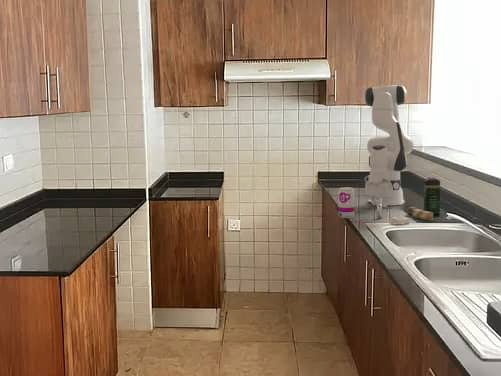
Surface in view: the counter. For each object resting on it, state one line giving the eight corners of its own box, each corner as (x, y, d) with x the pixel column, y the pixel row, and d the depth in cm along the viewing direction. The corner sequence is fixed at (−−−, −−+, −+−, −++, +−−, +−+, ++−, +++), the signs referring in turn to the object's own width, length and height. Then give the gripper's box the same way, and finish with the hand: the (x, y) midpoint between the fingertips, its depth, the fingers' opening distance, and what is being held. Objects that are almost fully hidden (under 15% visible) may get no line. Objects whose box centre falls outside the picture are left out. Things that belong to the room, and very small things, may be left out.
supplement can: (351, 218, 292) (350, 189, 290) (336, 217, 296) (335, 188, 294) (357, 216, 299) (356, 187, 297) (342, 215, 303) (341, 186, 301)
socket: (390, 222, 277) (390, 217, 277) (401, 221, 280) (401, 216, 279) (397, 224, 272) (397, 219, 271) (409, 223, 274) (409, 218, 273)
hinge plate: (403, 215, 296) (403, 214, 296) (413, 214, 298) (413, 213, 298) (425, 220, 279) (425, 220, 279) (436, 219, 281) (436, 218, 281)
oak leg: (406, 214, 296) (406, 207, 295) (413, 213, 297) (413, 206, 297) (426, 219, 279) (426, 212, 279) (434, 218, 281) (434, 211, 280)
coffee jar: (441, 215, 293) (441, 178, 291) (425, 215, 294) (425, 178, 292) (438, 211, 302) (438, 176, 300) (423, 211, 304) (422, 176, 301)
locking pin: (375, 218, 291) (375, 204, 290) (380, 217, 292) (380, 204, 291) (378, 219, 289) (378, 205, 288) (383, 218, 289) (383, 204, 289)
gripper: (396, 179, 279) (396, 208, 280) (373, 176, 298) (373, 203, 299) (385, 180, 277) (385, 209, 278) (363, 177, 296) (363, 204, 297)
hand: (379, 205), depth 289 cm, fingers open, 8 cm apart
